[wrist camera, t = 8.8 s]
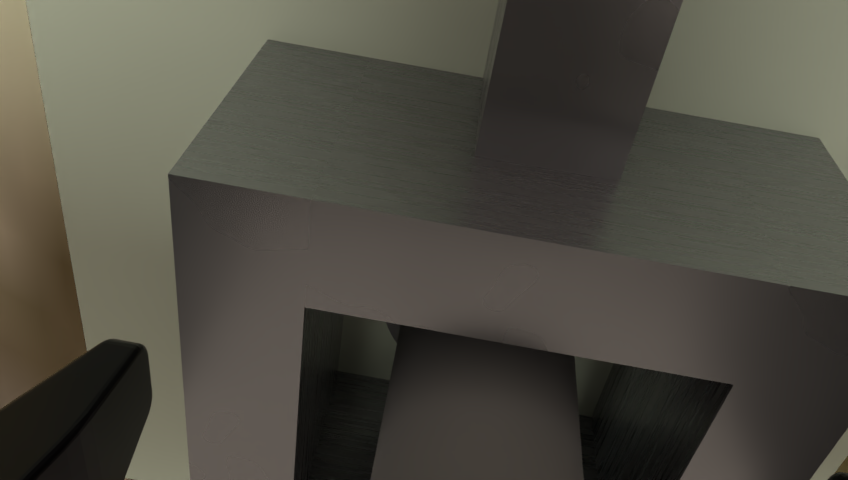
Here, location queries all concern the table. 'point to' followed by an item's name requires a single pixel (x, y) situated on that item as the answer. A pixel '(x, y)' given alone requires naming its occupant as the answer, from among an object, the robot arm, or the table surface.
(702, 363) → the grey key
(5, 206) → the table surface
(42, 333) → the table surface
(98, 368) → the robot arm
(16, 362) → the table surface
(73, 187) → the pale green rectangular panel
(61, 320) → the table surface
